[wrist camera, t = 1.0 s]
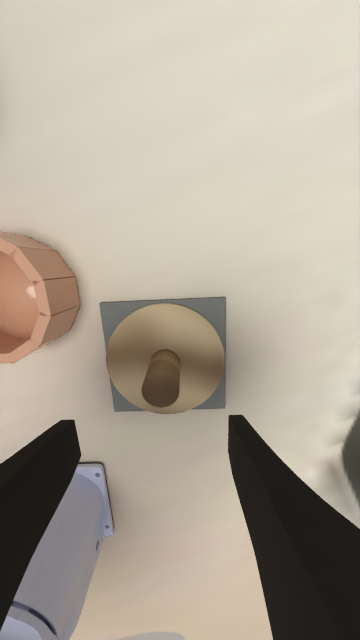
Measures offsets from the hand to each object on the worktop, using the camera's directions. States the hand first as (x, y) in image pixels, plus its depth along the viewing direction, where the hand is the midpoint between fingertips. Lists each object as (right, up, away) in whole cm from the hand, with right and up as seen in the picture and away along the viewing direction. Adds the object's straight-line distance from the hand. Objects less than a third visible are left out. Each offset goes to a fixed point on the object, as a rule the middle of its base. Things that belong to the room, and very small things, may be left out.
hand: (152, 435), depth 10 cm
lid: (0, +2, +8) cm, 8 cm away
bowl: (-11, +8, +7) cm, 15 cm away
